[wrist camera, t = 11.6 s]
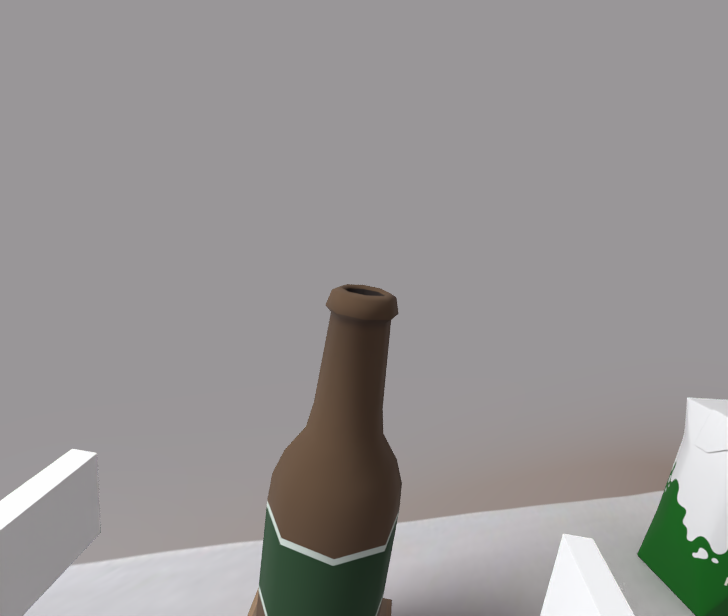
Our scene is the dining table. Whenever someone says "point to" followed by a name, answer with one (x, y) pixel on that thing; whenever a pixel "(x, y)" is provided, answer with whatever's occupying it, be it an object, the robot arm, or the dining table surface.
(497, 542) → the dining table surface
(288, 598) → the beer bottle
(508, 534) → the dining table surface
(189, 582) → the dining table surface
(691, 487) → the milk carton
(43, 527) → the robot arm
